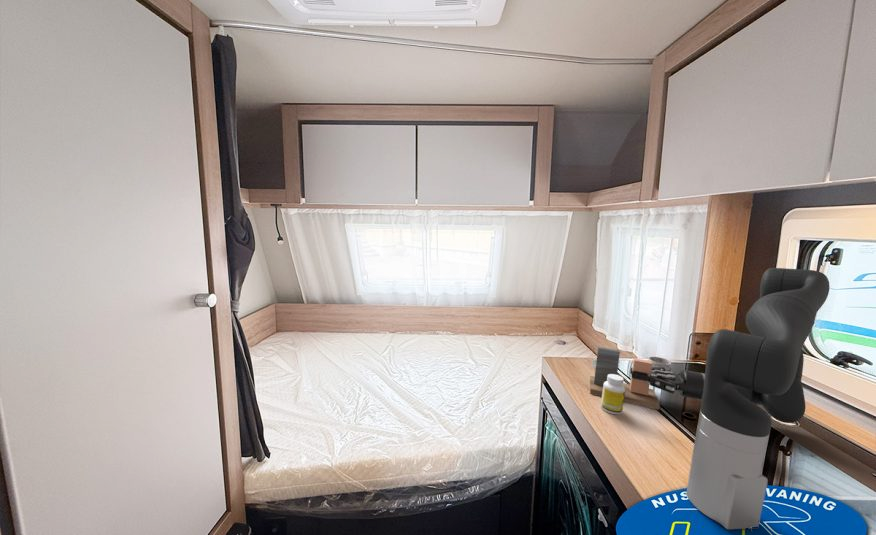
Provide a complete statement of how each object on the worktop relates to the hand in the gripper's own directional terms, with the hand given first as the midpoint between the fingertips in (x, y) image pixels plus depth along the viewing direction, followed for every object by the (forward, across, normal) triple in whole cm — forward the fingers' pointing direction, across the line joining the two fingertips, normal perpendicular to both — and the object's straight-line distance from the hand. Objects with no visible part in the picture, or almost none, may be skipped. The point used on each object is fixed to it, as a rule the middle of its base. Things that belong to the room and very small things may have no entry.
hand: (631, 372), depth 98 cm
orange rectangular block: (-3, 0, +6) cm, 6 cm away
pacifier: (+6, -16, +8) cm, 19 cm away
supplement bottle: (+6, +12, +8) cm, 15 cm away
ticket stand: (+2, 0, +8) cm, 8 cm away
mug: (-10, -21, +8) cm, 25 cm away
